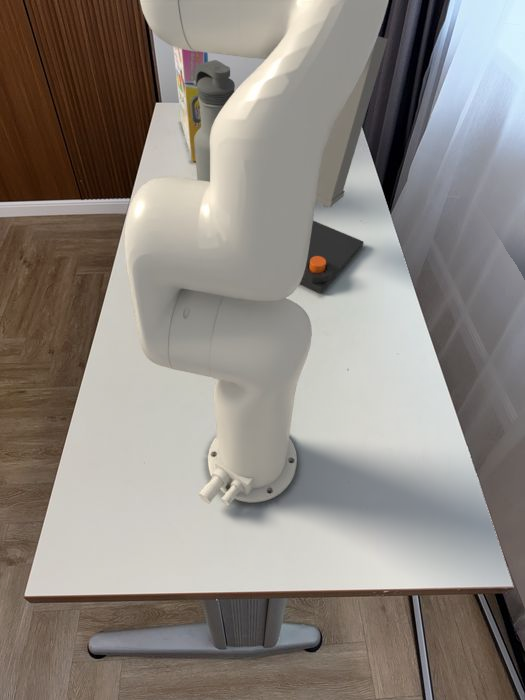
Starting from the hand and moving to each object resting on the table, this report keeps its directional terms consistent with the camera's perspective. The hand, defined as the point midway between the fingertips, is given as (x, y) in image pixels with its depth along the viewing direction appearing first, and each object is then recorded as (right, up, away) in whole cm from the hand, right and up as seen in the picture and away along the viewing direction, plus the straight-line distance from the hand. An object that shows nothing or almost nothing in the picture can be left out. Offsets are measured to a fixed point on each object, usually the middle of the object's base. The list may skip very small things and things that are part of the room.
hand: (334, 61), depth 76 cm
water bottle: (-20, -10, +37) cm, 43 cm away
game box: (-28, +10, +53) cm, 61 cm away
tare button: (-1, -29, +18) cm, 34 cm away
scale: (-2, -25, +25) cm, 35 cm away
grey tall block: (-4, -15, +13) cm, 21 cm away
